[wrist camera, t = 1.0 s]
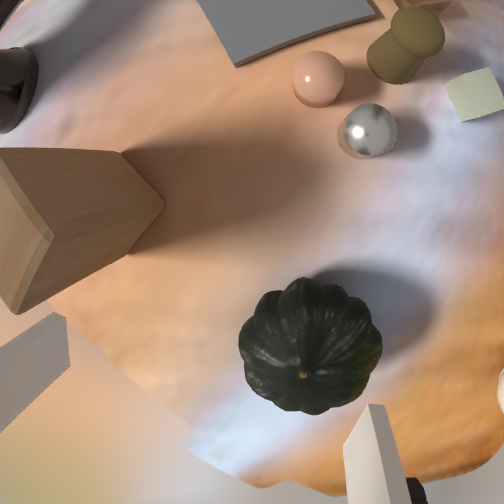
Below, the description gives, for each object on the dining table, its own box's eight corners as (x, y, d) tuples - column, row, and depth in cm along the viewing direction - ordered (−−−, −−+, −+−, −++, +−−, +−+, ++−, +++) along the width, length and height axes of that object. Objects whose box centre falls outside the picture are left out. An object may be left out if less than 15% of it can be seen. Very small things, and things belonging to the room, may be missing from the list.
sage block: (443, 84, 28) (461, 74, 23) (470, 76, 27) (490, 67, 22) (460, 122, 29) (480, 116, 24) (486, 112, 28) (507, 107, 23)
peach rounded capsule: (285, 76, 31) (284, 61, 26) (325, 61, 30) (330, 44, 25) (305, 114, 32) (307, 104, 27) (345, 98, 31) (354, 87, 26)
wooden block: (78, 206, 38) (-41, 236, 18) (119, 148, 35) (-8, 142, 16) (124, 259, 38) (14, 323, 19) (171, 203, 36) (56, 236, 17)
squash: (335, 423, 34) (389, 432, 21) (221, 391, 36) (214, 387, 22) (361, 322, 41) (416, 282, 27) (257, 289, 42) (269, 233, 28)
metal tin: (329, 124, 31) (337, 113, 26) (369, 108, 30) (383, 96, 25) (348, 165, 32) (360, 163, 27) (387, 149, 31) (406, 145, 25)
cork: (400, 94, 29) (439, 67, 19) (357, 62, 29) (380, 22, 19) (422, 61, 28) (462, 28, 17) (381, 30, 28) (408, -14, 17)
